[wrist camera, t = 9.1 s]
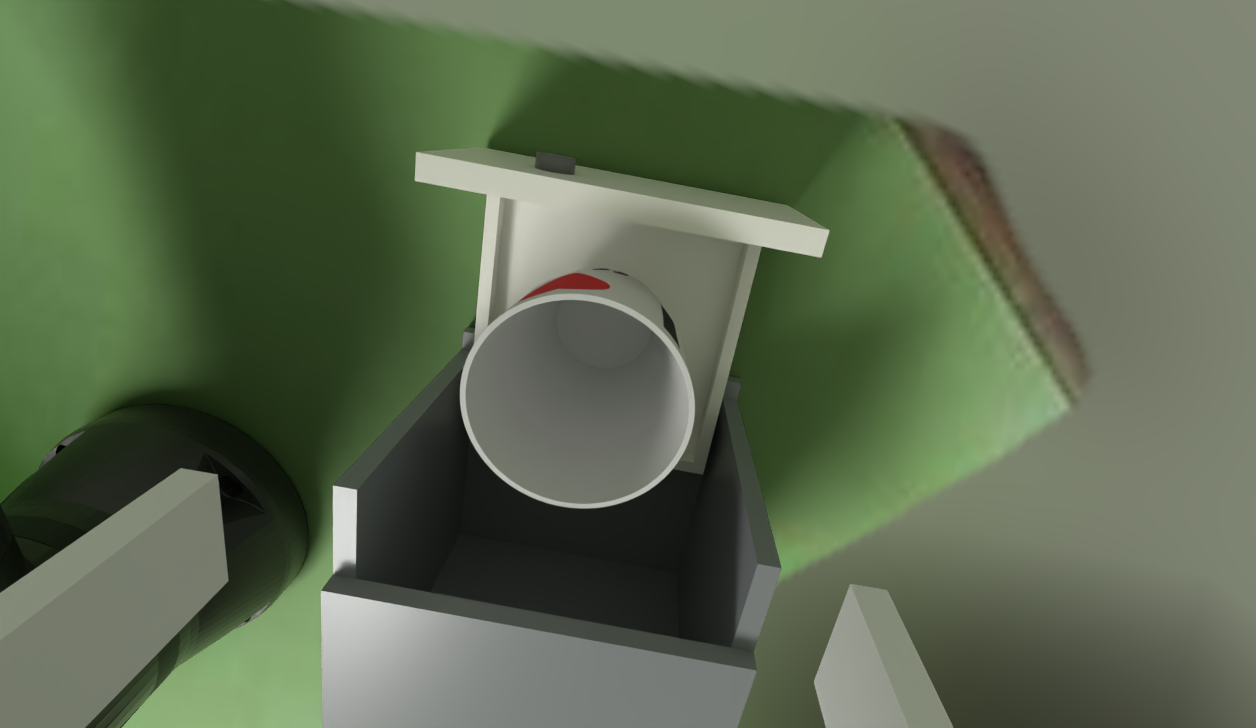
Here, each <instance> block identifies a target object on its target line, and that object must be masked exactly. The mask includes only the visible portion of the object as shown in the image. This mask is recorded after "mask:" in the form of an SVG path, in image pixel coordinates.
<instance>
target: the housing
mask: <svg viewBox="0 0 1256 728" xmlns="http://www.w3.org/2000/svg"><path fill="white" fill-rule="evenodd" d="M474 336H475V328H471V327H467V328H466V329H465V330H464V331H463V342H462V350H461V351H460V352H459V353H458V354H457V355H456V356H455V357H454V358H453V359H452V360H451V361H450V362H449V363H448V364H447V365H446V366H445V367H444V369H443V370H442V371H441V372H440V373H439V374H438V375H437V376H436V377H435V378H434V379H433V380H432V381H431V382H430V383H429V384H428V385H427V387H426V388H425V389H424V390H423V391H422V392H421V393H420V394H419V395H418V396H417V397H416V398H415V399H414V400H413V401H412V402H411V403H410V404H409V406H408V407H407V408H406V409H405V410H404V411H403V412H402V413H401V414H400V415H399V416H398V417H397V418H396V419H395V420H394V421H393V422H392V424H391V425H390V426H389V427H388V428H387V429H386V430H385V431H384V432H383V433H382V434H381V435H380V436H379V437H378V438H377V439H376V440H375V441H374V443H373V444H372V445H371V446H370V447H369V448H368V449H367V450H366V451H365V452H364V453H363V454H362V455H361V456H360V457H359V458H358V459H357V461H356V462H355V463H354V464H353V465H352V466H351V467H350V468H349V469H348V470H347V471H346V472H345V473H344V474H343V475H342V476H341V477H340V478H339V480H338V481H337V482H336V483H335V484H334V485H333V575H332V577H331V578H330V579H329V581H328V582H327V583H326V585H325V586H324V587H323V589H322V590H321V628H322V707H323V728H737V727H738V724H739V721H740V718H741V715H742V712H743V709H744V706H745V703H746V700H747V698H748V695H749V692H750V689H751V686H752V682H753V680H754V677H755V674H756V671H757V669H756V664H755V657H754V649H755V646H756V643H757V640H758V637H759V634H760V631H761V628H762V625H763V622H764V619H765V616H766V613H767V610H768V607H769V604H770V601H771V598H772V595H773V592H774V589H775V586H776V583H777V580H778V577H779V574H780V571H781V564H780V561H779V557H778V553H777V549H776V545H775V542H774V538H773V534H772V530H771V526H770V523H769V519H768V515H767V511H766V508H765V504H764V500H763V496H762V492H761V489H760V485H759V481H758V477H757V473H756V470H755V466H754V462H753V458H752V454H751V451H750V447H749V443H748V439H747V435H746V432H745V428H744V424H743V420H742V416H741V413H740V409H739V405H738V401H737V400H738V396H739V392H740V389H741V385H742V383H741V379H740V378H738V377H733V376H728V380H727V384H726V388H725V391H724V395H723V399H722V403H721V407H720V411H719V415H718V419H717V422H716V426H715V430H714V434H713V438H712V442H711V446H710V450H709V453H708V457H707V461H706V465H705V469H704V473H703V475H702V474H697V473H691V472H686V471H680V470H675V469H672V470H671V472H670V473H669V474H668V475H667V476H666V477H665V478H664V479H663V480H661V481H660V482H659V483H658V484H657V485H655V486H654V487H653V488H651V489H650V490H648V491H647V492H645V493H643V494H641V495H639V496H637V497H635V498H633V499H631V500H628V501H625V502H622V503H619V504H616V505H611V506H606V507H600V508H569V507H562V506H557V505H553V504H549V503H546V502H543V501H540V500H537V499H534V498H532V497H530V496H528V495H526V494H524V493H522V492H520V491H518V490H517V489H515V488H513V487H512V486H510V485H509V484H508V483H506V482H505V481H504V480H502V479H501V478H500V477H499V476H498V475H497V474H496V473H494V472H493V471H492V470H491V469H490V467H489V466H488V465H487V464H486V463H485V462H484V460H483V459H482V458H481V456H480V455H479V454H478V452H477V451H476V449H475V447H474V445H473V444H472V442H471V440H470V438H469V435H468V433H467V431H466V428H465V425H464V421H463V417H462V413H461V406H460V384H461V377H462V372H463V368H464V365H465V362H466V360H467V357H468V355H469V353H470V351H471V349H472V347H473V345H474Z"/></svg>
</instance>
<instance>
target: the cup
mask: <svg viewBox="0 0 1256 728" xmlns="http://www.w3.org/2000/svg"><path fill="white" fill-rule="evenodd" d="M460 406H461V413H462V417H463V421H464V425H465V428H466V430H467V433H468V435H469V438H470V440H471V442H472V444H473V445H474V447H475V449H476V451H477V452H478V454H479V455H480V456H481V458H482V459H483V460H484V462H485V463H486V464H487V465H488V466H489V467H490V469H491V470H492V471H493V472H494V473H496V474H497V475H498V476H499V477H500V478H501V479H502V480H504V481H505V482H506V483H508V484H509V485H510V486H512V487H513V488H515V489H517V490H518V491H520V492H522V493H524V494H526V495H528V496H530V497H532V498H534V499H537V500H540V501H543V502H546V503H549V504H553V505H557V506H562V507H569V508H600V507H606V506H611V505H616V504H619V503H622V502H625V501H628V500H631V499H633V498H635V497H637V496H639V495H641V494H643V493H645V492H647V491H648V490H650V489H651V488H653V487H654V486H655V485H657V484H658V483H659V482H660V481H661V480H663V479H664V478H665V477H666V476H667V475H668V474H669V473H670V472H671V470H672V469H673V468H674V467H675V465H676V464H677V463H678V461H679V460H680V458H681V456H682V455H683V453H684V451H685V449H686V447H687V444H688V442H689V439H690V436H691V433H692V429H693V424H694V416H695V399H694V391H693V386H692V382H691V378H690V373H689V369H688V365H687V361H686V357H685V353H684V349H683V345H682V342H681V338H680V335H679V333H678V330H677V328H676V326H675V324H674V322H673V321H672V319H671V317H670V316H669V314H668V313H667V312H666V310H665V309H664V307H663V306H662V304H661V303H660V301H659V300H658V299H657V297H656V296H655V295H654V294H653V292H652V291H651V290H650V289H649V288H648V287H646V286H645V285H644V284H643V283H641V282H640V281H639V280H637V279H635V278H634V277H632V276H630V275H627V274H625V273H622V272H619V271H616V270H612V269H605V268H589V269H583V270H578V271H575V272H572V273H569V274H566V275H563V276H560V277H557V278H554V279H551V280H549V281H547V282H545V283H543V284H541V285H539V286H537V287H536V288H534V289H533V290H532V291H530V292H529V293H528V294H526V295H525V296H524V297H523V298H522V299H520V300H519V301H518V302H517V303H515V304H514V305H513V306H512V307H510V308H509V309H508V310H507V311H506V312H504V313H503V314H502V315H501V316H499V317H498V318H497V319H496V320H495V321H493V322H492V323H491V324H490V325H489V326H488V327H487V328H486V329H485V330H484V331H483V333H482V334H481V335H480V336H479V338H478V339H477V341H476V342H475V344H474V345H473V347H472V349H471V351H470V353H469V355H468V357H467V360H466V362H465V365H464V368H463V372H462V377H461V384H460Z"/></svg>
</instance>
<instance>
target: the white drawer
mask: <svg viewBox="0 0 1256 728" xmlns="http://www.w3.org/2000/svg"><path fill="white" fill-rule="evenodd" d="M576 160H577V159H576V158H573V157H569V156H565V155H560V154H554V153H548V152H539V151H537V152H536V157H531V156H525V155H520V154H515V153H509V152H504V151H499V150H494V149H488V148H483V147H475V148H462V149H449V150H436V151H423V152H416V165H415V181H418V182H423V183H429V184H434V185H439V186H444V187H450V188H455V189H460V190H466V191H471V192H476V193H482V194H487V200H486V211H485V223H484V234H483V245H482V257H481V268H480V279H479V291H478V302H477V313H476V325H475V336H474V344H475V342H476V341H477V339H478V338H479V336H480V335H481V334H482V333H483V331H484V330H485V329H486V328H487V327H488V326H489V325H490V324H491V323H492V322H493V321H495V320H496V319H497V318H498V317H499V316H501V315H502V314H503V313H504V312H506V311H507V310H508V309H509V308H510V307H512V306H513V305H514V304H515V303H517V302H518V301H519V300H520V299H522V298H523V297H524V296H525V295H526V294H528V293H529V292H530V291H532V290H533V289H534V288H536V287H537V286H539V285H541V284H543V283H545V282H547V281H549V280H551V279H554V278H557V277H560V276H563V275H566V274H569V273H572V272H575V271H578V270H583V269H589V268H605V269H612V270H616V271H619V272H622V273H625V274H627V275H630V276H632V277H634V278H635V279H637V280H639V281H640V282H641V283H643V284H644V285H645V286H646V287H648V288H649V289H650V290H651V291H652V292H653V294H654V295H655V296H656V297H657V299H658V300H659V301H660V303H661V304H662V306H663V307H664V309H665V310H666V312H667V313H668V314H669V316H670V317H671V319H672V321H673V322H674V324H675V326H676V328H677V330H678V333H679V335H680V338H681V342H682V345H683V349H684V353H685V357H686V361H687V365H688V369H689V373H690V378H691V382H692V386H693V391H694V399H695V416H694V424H693V429H692V433H691V436H690V439H689V442H688V444H687V447H686V449H685V451H684V453H683V455H682V456H681V458H680V460H679V461H678V463H677V464H676V465H675V467H674V468H673V469H675V470H680V471H686V472H691V473H697V474H702V475H703V473H704V469H705V465H706V461H707V457H708V453H709V450H710V446H711V442H712V438H713V434H714V430H715V426H716V422H717V419H718V415H719V411H720V407H721V403H722V399H723V395H724V391H725V388H726V384H727V380H728V376H729V372H730V368H731V364H732V360H733V356H734V353H735V349H736V345H737V341H738V337H739V333H740V329H741V325H742V322H743V318H744V314H745V310H746V306H747V302H748V298H749V294H750V291H751V287H752V283H753V279H754V275H755V271H756V267H757V263H758V260H759V256H760V252H761V248H762V247H767V248H773V249H778V250H783V251H789V252H794V253H799V254H805V255H810V256H815V257H820V258H822V254H823V251H824V247H825V244H826V241H827V237H828V234H829V231H830V230H828V229H827V228H825V227H823V226H822V225H820V224H818V223H817V222H815V221H813V220H812V219H810V218H808V217H807V216H805V215H803V214H802V213H800V212H798V211H797V210H795V209H793V208H792V207H790V206H788V205H784V204H779V203H773V202H768V201H763V200H758V199H752V198H747V197H742V196H737V195H731V194H726V193H721V192H715V191H710V190H705V189H700V188H694V187H689V186H684V185H678V184H673V183H668V182H663V181H657V180H652V179H647V178H641V177H636V176H631V175H626V174H620V173H615V172H610V171H605V170H599V169H594V168H589V167H583V166H578V165H576ZM466 431H467V430H466Z"/></svg>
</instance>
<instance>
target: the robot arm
mask: <svg viewBox="0 0 1256 728" xmlns="http://www.w3.org/2000/svg"><path fill="white" fill-rule="evenodd" d="M307 544H308V529H307V522H306V517H305V513H304V510H303V507H302V504H301V501H300V499H299V497H298V495H297V493H296V491H295V489H294V487H293V485H292V484H291V482H290V480H289V479H288V477H287V476H286V474H285V473H284V472H283V471H282V469H281V468H280V467H279V465H278V464H277V463H276V462H275V461H274V460H273V459H272V458H271V457H270V456H269V455H268V454H267V453H266V452H265V451H264V450H263V449H262V448H261V447H260V446H259V445H257V444H256V443H255V442H254V441H252V440H251V439H250V438H248V437H247V436H246V435H244V434H243V433H241V432H240V431H238V430H236V429H235V428H233V427H231V426H229V425H228V424H226V423H224V422H222V421H220V420H218V419H216V418H213V417H211V416H208V415H206V414H203V413H200V412H197V411H194V410H190V409H186V408H182V407H177V406H170V405H160V404H147V405H137V406H131V407H126V408H122V409H119V410H116V411H114V412H111V413H109V414H107V415H105V416H103V417H101V418H99V419H97V420H95V421H93V422H91V423H89V424H87V425H85V426H83V427H81V428H79V429H78V430H76V431H74V432H73V433H71V434H70V435H68V436H67V437H65V438H64V439H63V440H62V441H60V442H59V443H58V444H57V445H56V446H55V447H54V448H53V449H52V450H51V451H50V452H49V453H48V455H47V456H46V457H45V458H44V460H43V461H42V463H41V465H40V467H39V469H38V471H37V472H35V473H34V474H32V475H31V476H30V477H28V478H27V479H26V480H25V481H24V482H22V483H21V484H20V485H19V486H18V487H17V488H16V489H15V490H14V491H13V492H12V493H11V494H10V495H9V496H8V497H7V498H6V499H5V500H4V501H3V502H2V503H1V504H0V728H121V727H122V726H123V725H124V724H125V723H126V722H127V721H128V720H129V719H130V717H131V716H132V715H133V714H134V713H135V712H136V711H137V710H138V708H139V707H140V706H141V705H142V704H143V703H144V702H145V701H146V699H147V698H148V697H149V696H150V695H151V694H152V693H153V692H154V691H155V690H156V689H157V688H158V686H159V685H160V684H161V683H162V682H163V681H164V680H165V679H166V678H167V676H168V675H169V674H170V673H171V672H172V671H173V670H174V669H175V668H176V667H178V666H179V665H180V664H182V663H184V662H185V661H187V660H188V659H190V658H191V657H193V656H194V655H196V654H197V653H199V652H200V651H202V650H203V649H205V648H207V647H208V646H210V645H211V644H213V643H214V642H216V641H217V640H219V639H220V638H222V637H223V636H225V635H226V634H227V633H229V632H230V631H232V630H233V629H236V628H238V627H241V626H243V625H244V624H246V623H248V622H250V621H251V620H253V619H255V618H256V617H258V616H259V615H261V614H262V613H263V612H264V611H266V610H267V609H268V608H269V607H270V606H271V605H272V604H273V603H274V602H275V601H276V600H277V599H278V597H279V596H280V595H281V594H282V593H283V591H284V590H285V589H286V588H287V587H288V585H289V584H290V583H291V582H292V581H293V580H294V578H295V577H296V575H297V574H298V572H299V570H300V569H301V567H302V564H303V562H304V559H305V556H306V551H307ZM814 684H815V688H816V692H817V695H818V699H819V703H820V706H821V710H822V714H823V718H824V721H825V725H826V728H953V726H952V724H951V722H950V720H949V718H948V715H947V714H946V711H945V709H944V707H943V705H942V703H941V701H940V699H939V697H938V695H937V693H936V691H935V689H934V686H933V684H932V682H931V680H930V678H929V676H928V674H927V672H926V670H925V668H924V666H923V664H922V661H921V659H920V657H919V655H918V653H917V651H916V649H915V647H914V645H913V643H912V641H911V639H910V637H909V635H908V633H907V631H906V628H905V626H904V624H903V622H902V620H901V618H900V616H899V614H898V612H897V610H896V608H895V606H894V603H893V602H892V599H891V598H890V595H889V593H888V591H887V590H883V589H876V588H871V587H865V586H860V585H854V584H850V586H849V589H848V592H847V594H846V597H845V600H844V603H843V605H842V608H841V610H840V613H839V616H838V618H837V621H836V624H835V626H834V629H833V632H832V634H831V637H830V640H829V642H828V645H827V648H826V651H825V653H824V656H823V659H822V661H821V664H820V667H819V669H818V672H817V675H816V678H815V680H814Z"/></svg>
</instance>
